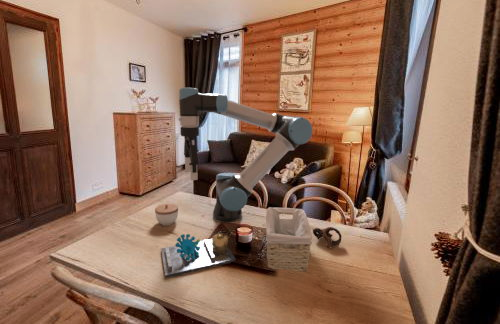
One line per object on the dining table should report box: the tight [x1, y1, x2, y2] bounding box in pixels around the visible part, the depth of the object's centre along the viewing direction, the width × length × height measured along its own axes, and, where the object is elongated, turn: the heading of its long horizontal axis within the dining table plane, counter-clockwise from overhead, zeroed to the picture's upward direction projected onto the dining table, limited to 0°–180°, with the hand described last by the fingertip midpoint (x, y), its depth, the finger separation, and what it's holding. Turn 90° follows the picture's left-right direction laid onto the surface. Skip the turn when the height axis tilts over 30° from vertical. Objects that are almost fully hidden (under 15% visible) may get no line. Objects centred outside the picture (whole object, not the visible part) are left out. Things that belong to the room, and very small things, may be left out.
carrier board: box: [160, 232, 236, 279], centre depth 95 cm, size 25×17×7 cm
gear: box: [174, 233, 201, 260], centre depth 94 cm, size 11×6×10 cm
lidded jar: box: [154, 203, 179, 226], centre depth 121 cm, size 11×11×9 cm
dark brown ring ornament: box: [312, 226, 342, 250], centre depth 107 cm, size 12×10×8 cm
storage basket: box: [265, 207, 313, 272], centre depth 97 cm, size 24×16×15 cm
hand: (191, 175), depth 108 cm, fingers open, 13 cm apart
